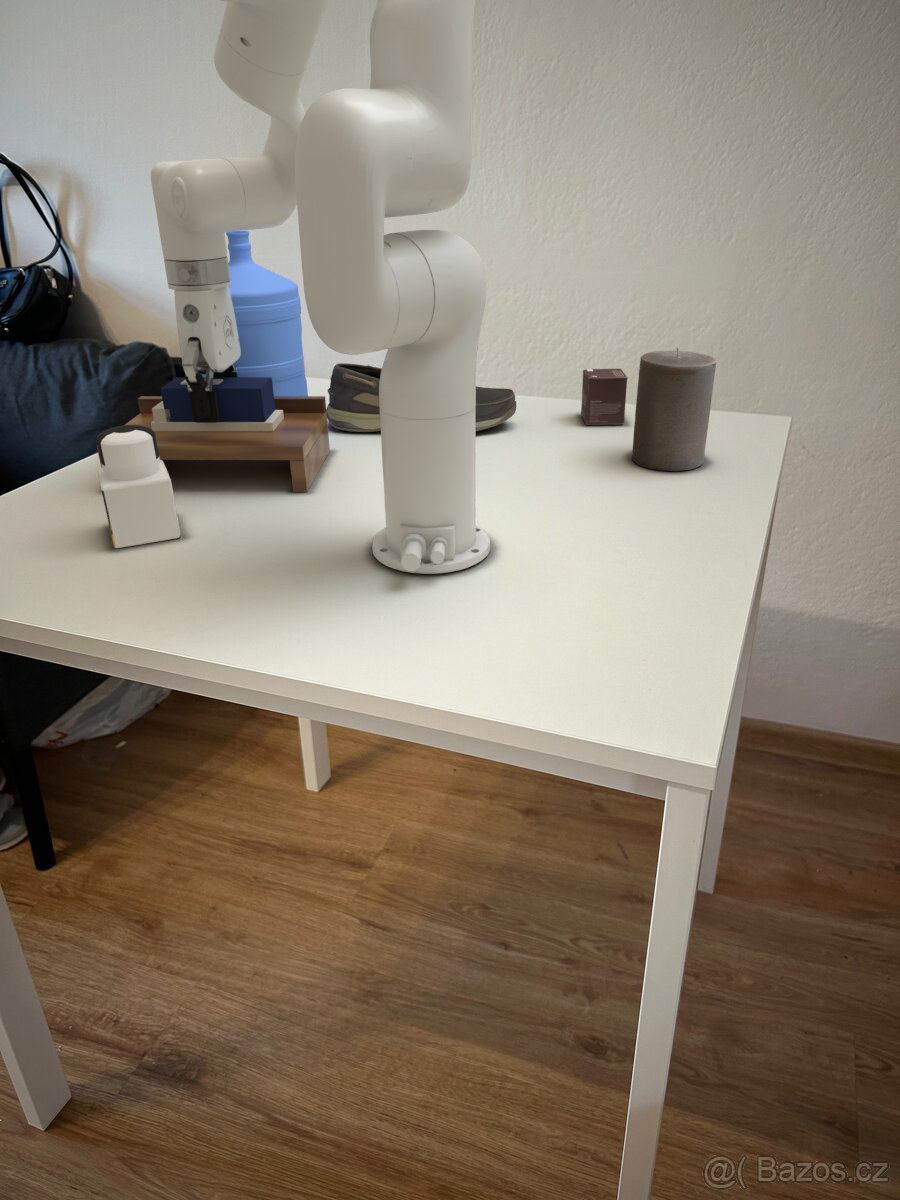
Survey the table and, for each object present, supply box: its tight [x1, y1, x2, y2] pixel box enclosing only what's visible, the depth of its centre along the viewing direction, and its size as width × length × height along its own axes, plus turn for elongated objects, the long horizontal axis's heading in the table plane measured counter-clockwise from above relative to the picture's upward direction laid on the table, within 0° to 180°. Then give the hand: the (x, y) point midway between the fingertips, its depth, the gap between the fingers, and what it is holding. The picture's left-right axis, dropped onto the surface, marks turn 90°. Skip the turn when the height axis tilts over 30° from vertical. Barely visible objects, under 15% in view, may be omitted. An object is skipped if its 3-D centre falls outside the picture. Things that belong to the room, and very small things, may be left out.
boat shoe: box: [326, 362, 517, 433], centre depth 130 cm, size 11×29×11 cm, turn 89°
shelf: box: [96, 395, 331, 493], centre depth 114 cm, size 16×26×8 cm, turn 87°
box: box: [580, 368, 628, 426], centre depth 133 cm, size 6×6×7 cm
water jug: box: [202, 230, 309, 396], centre depth 127 cm, size 16×16×28 cm
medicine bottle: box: [95, 424, 181, 549], centre depth 95 cm, size 7×7×12 cm
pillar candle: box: [630, 347, 718, 472], centre depth 114 cm, size 10×10×15 cm
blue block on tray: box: [151, 377, 284, 432], centre depth 113 cm, size 16×6×6 cm, turn 87°
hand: (218, 411), depth 113 cm, fingers open, 9 cm apart
